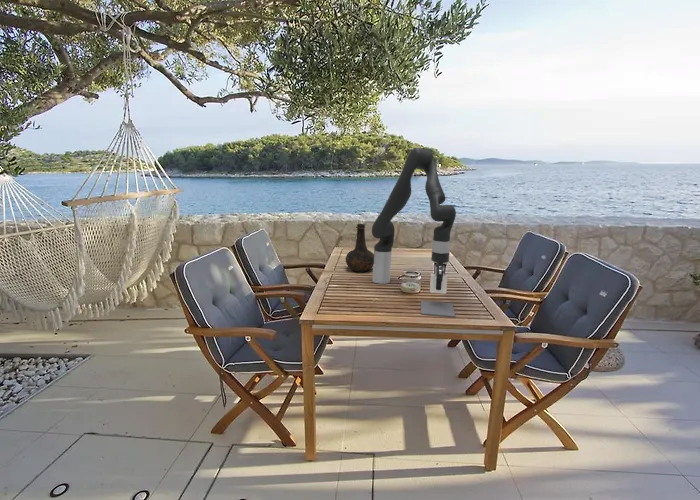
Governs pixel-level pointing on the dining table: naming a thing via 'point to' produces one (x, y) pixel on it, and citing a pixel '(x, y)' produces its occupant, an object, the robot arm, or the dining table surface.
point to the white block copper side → (443, 284)
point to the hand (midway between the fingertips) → (438, 288)
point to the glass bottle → (360, 253)
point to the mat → (437, 309)
